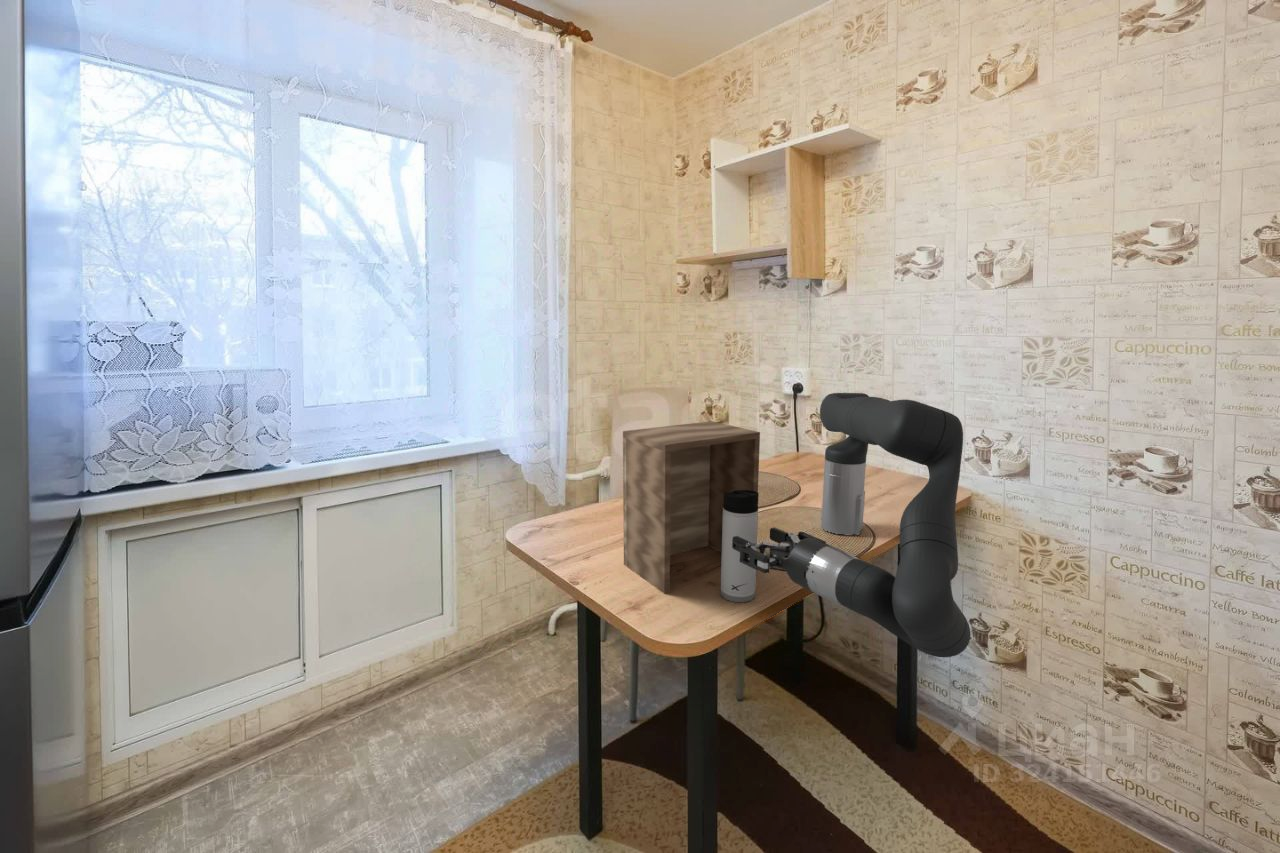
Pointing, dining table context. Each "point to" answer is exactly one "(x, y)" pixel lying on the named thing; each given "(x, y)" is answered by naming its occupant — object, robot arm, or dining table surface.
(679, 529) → the cubby
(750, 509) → the travel mug
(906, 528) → the robot arm
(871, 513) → the dining table surface
